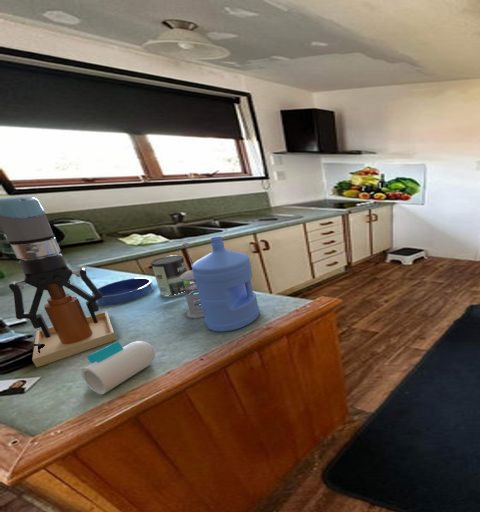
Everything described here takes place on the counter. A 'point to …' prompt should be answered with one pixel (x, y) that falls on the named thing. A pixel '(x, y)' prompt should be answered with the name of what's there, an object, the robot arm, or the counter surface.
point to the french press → (194, 307)
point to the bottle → (66, 316)
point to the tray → (57, 350)
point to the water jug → (225, 288)
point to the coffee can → (170, 275)
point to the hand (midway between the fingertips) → (73, 328)
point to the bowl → (124, 291)
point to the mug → (116, 364)
